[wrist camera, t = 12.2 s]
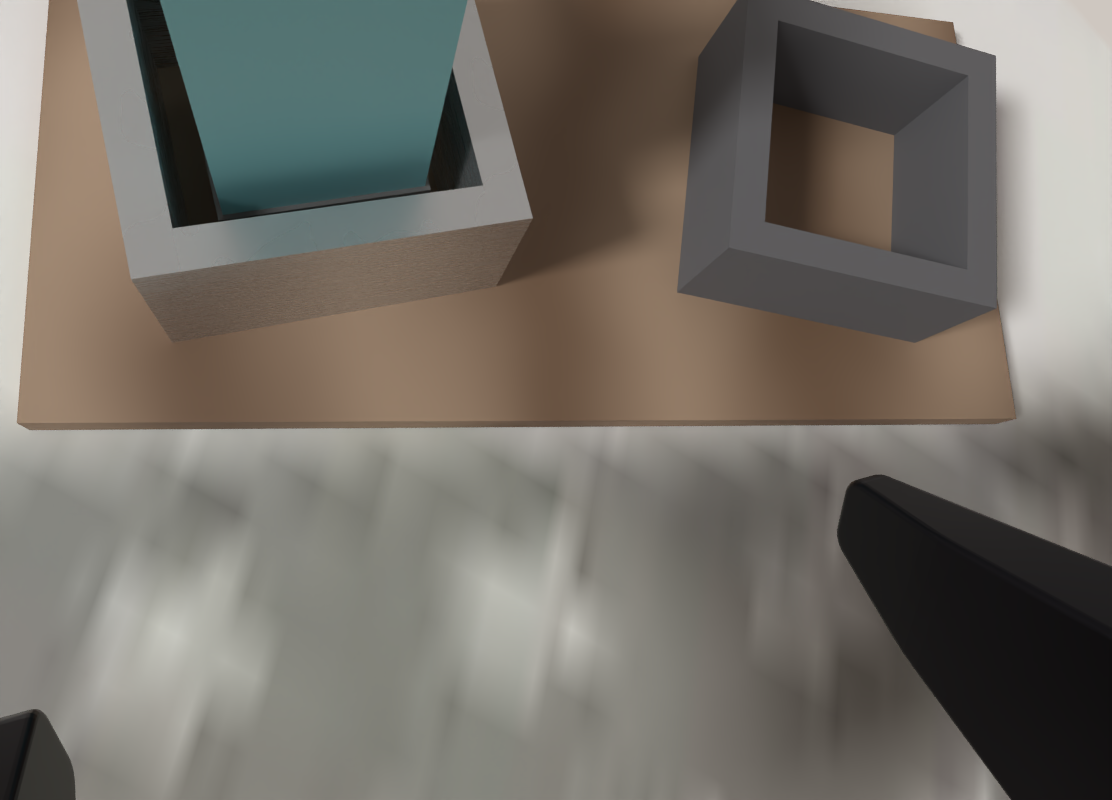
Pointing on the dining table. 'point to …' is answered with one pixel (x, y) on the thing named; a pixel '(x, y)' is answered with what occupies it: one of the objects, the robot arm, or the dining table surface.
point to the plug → (314, 97)
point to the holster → (864, 100)
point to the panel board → (528, 281)
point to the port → (309, 235)
